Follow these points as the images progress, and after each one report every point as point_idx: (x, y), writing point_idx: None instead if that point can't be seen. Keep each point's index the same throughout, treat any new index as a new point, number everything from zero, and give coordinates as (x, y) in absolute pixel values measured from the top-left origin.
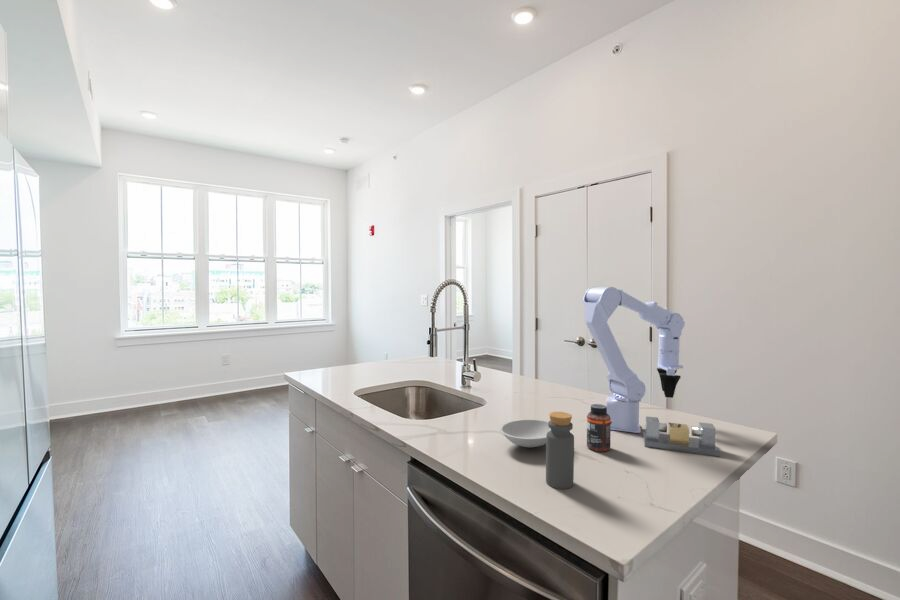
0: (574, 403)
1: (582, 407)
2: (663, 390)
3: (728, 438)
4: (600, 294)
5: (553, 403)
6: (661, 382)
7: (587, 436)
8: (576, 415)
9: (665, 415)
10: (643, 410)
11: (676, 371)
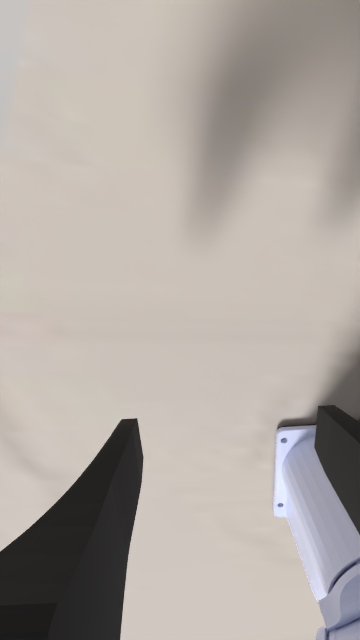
0: None
1: (135, 577)
2: (142, 459)
3: (329, 58)
4: None
5: (138, 634)
6: (131, 532)
7: None
8: (239, 578)
9: (66, 339)
10: (42, 418)
11: (63, 599)
